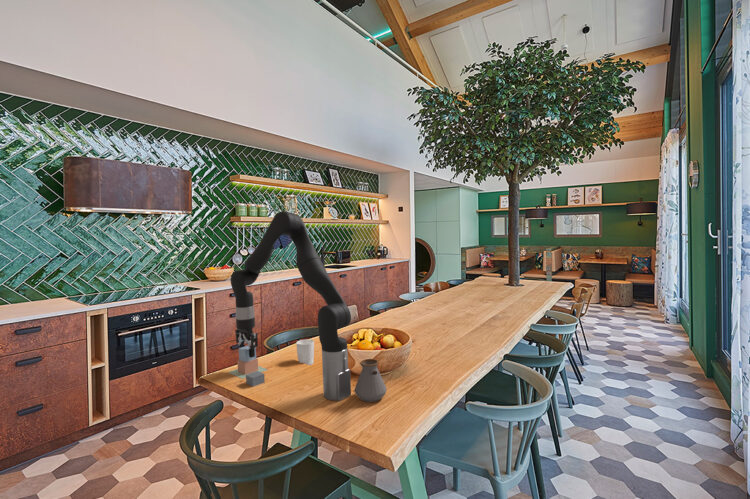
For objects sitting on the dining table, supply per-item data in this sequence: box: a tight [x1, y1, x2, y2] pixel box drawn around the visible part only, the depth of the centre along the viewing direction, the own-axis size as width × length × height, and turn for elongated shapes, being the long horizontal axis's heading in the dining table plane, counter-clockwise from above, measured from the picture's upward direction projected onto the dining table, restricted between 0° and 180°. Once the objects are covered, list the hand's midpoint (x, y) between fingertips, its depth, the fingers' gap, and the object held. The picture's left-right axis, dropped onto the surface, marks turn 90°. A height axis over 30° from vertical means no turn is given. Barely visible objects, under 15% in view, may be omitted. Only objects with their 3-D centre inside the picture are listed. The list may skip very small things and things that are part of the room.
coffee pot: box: [354, 358, 387, 403], centre depth 126 cm, size 21×12×15 cm, turn 9°
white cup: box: [295, 338, 315, 366], centre depth 167 cm, size 8×8×10 cm
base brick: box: [236, 357, 259, 375], centre depth 156 cm, size 6×6×5 cm
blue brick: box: [238, 345, 257, 362], centre depth 156 cm, size 5×5×5 cm
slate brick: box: [245, 371, 266, 388], centre depth 143 cm, size 5×5×5 cm
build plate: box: [227, 365, 269, 380], centre depth 156 cm, size 12×12×2 cm
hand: (247, 355), depth 156 cm, fingers open, 7 cm apart
